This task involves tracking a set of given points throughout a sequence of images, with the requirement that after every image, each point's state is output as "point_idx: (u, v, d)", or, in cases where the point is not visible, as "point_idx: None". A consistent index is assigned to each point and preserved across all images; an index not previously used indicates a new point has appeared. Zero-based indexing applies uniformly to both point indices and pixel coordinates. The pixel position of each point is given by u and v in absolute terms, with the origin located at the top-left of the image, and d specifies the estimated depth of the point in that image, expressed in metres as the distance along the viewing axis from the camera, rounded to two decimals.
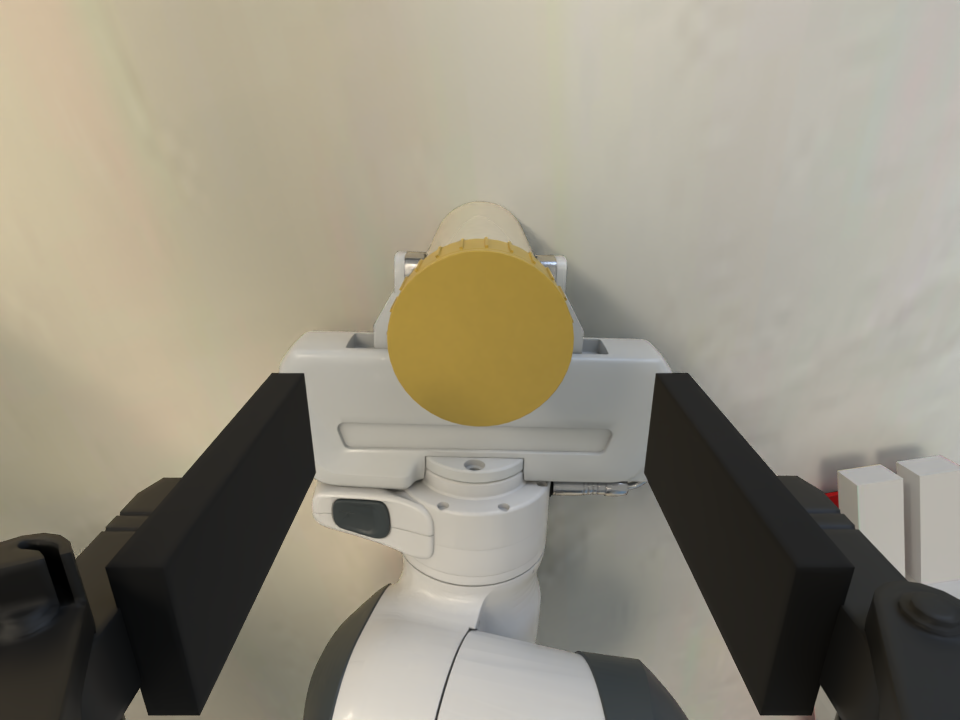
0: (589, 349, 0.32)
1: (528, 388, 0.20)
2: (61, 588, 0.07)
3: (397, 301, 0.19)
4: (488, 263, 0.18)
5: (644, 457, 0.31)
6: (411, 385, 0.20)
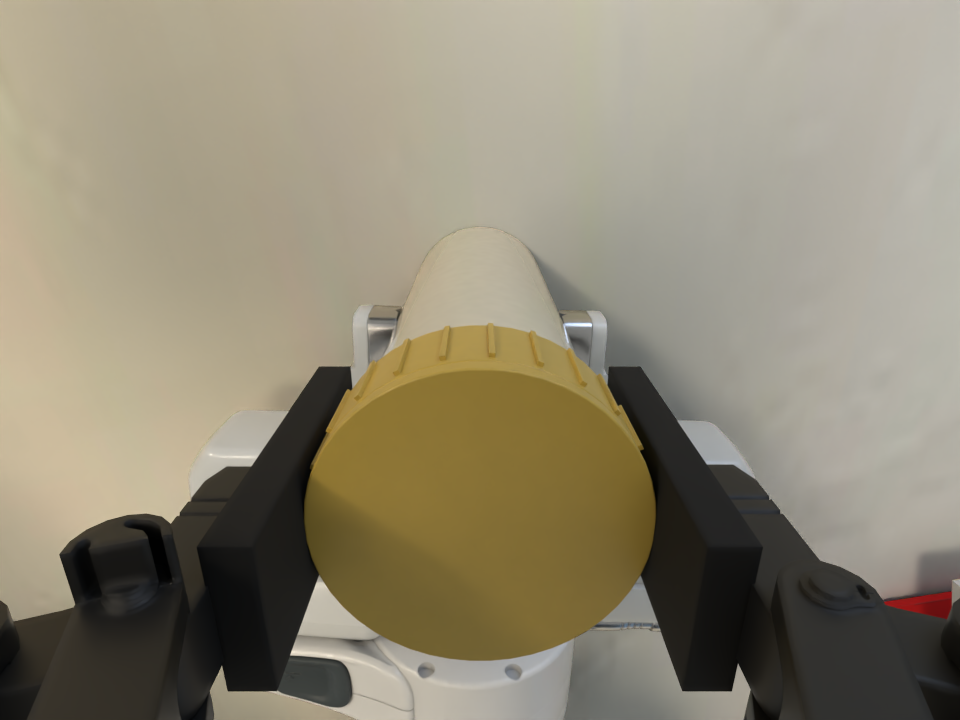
0: None
1: (567, 603, 0.11)
2: (160, 567, 0.08)
3: (319, 459, 0.10)
4: (495, 392, 0.09)
5: None
6: (353, 598, 0.11)
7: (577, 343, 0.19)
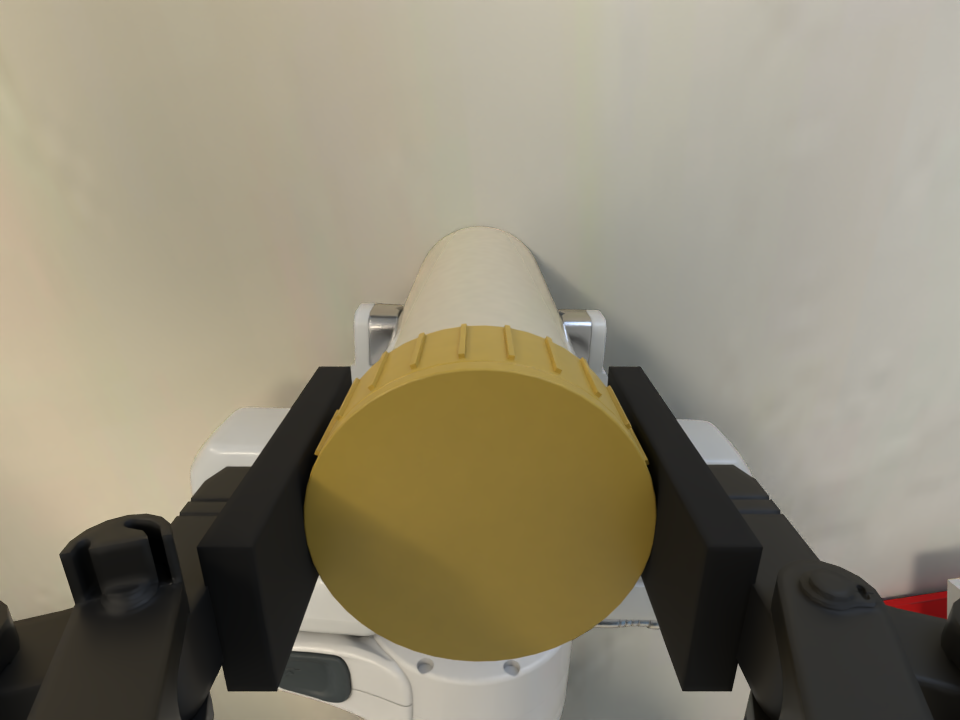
0: None
1: (494, 415, 0.09)
2: (160, 567, 0.08)
3: (509, 657, 0.11)
4: (358, 598, 0.11)
5: None
6: (626, 571, 0.11)
7: (576, 342, 0.19)
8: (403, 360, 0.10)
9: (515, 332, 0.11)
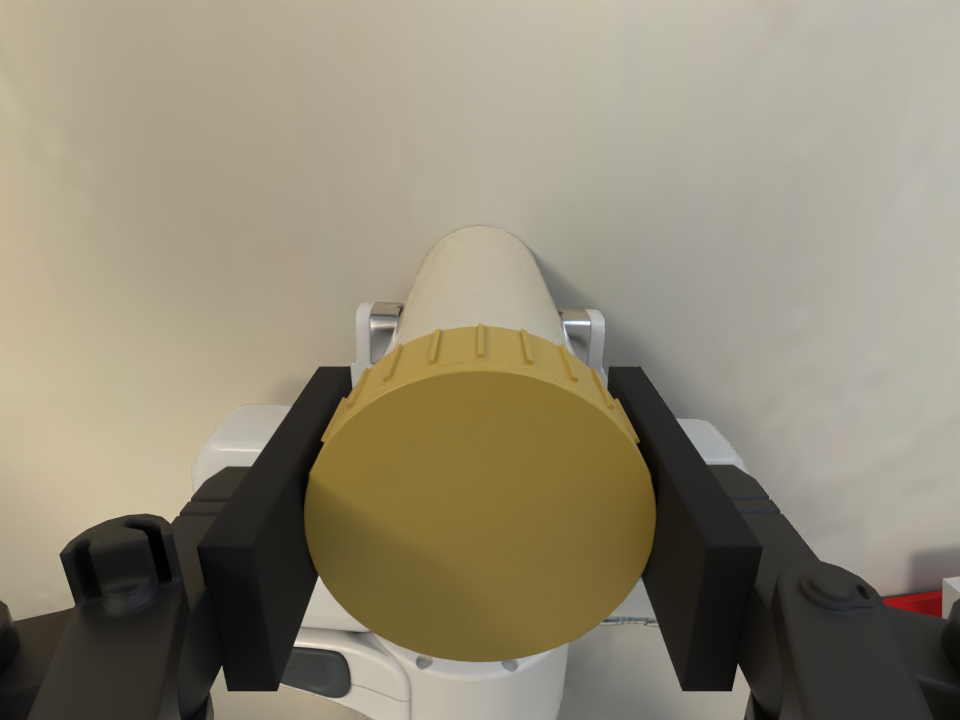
0: None
1: (375, 589, 0.11)
2: (160, 567, 0.08)
3: (601, 412, 0.09)
4: (623, 568, 0.11)
5: None
6: (417, 397, 0.09)
7: (575, 341, 0.20)
8: None
9: None
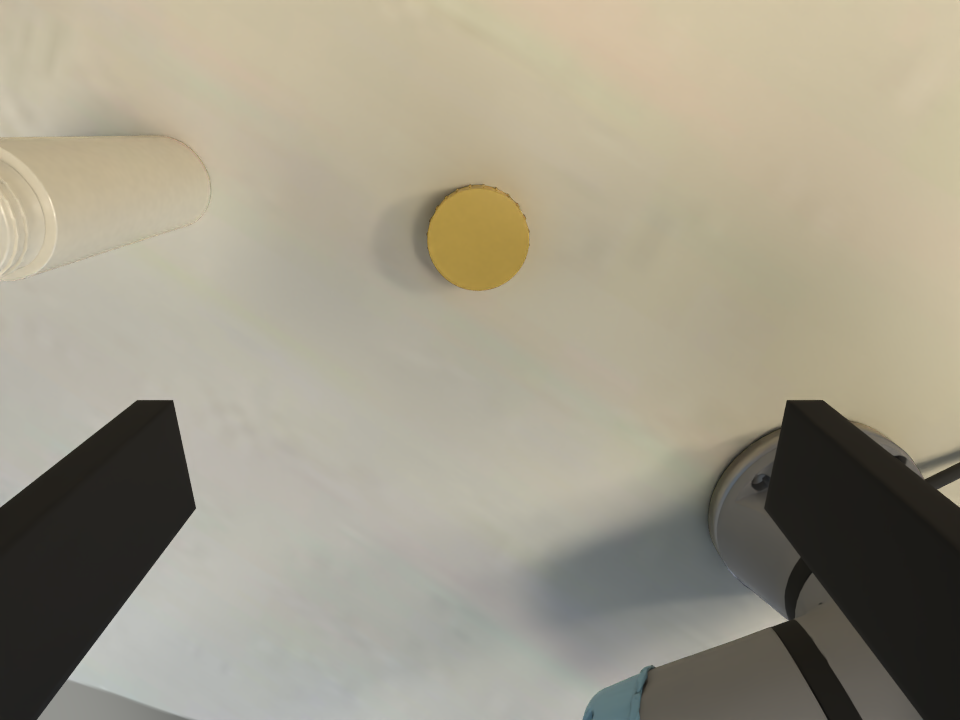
0: None
1: (514, 252, 0.36)
2: None
3: (428, 240, 0.36)
4: (460, 198, 0.35)
5: None
6: (456, 280, 0.37)
7: None
8: None
9: None
